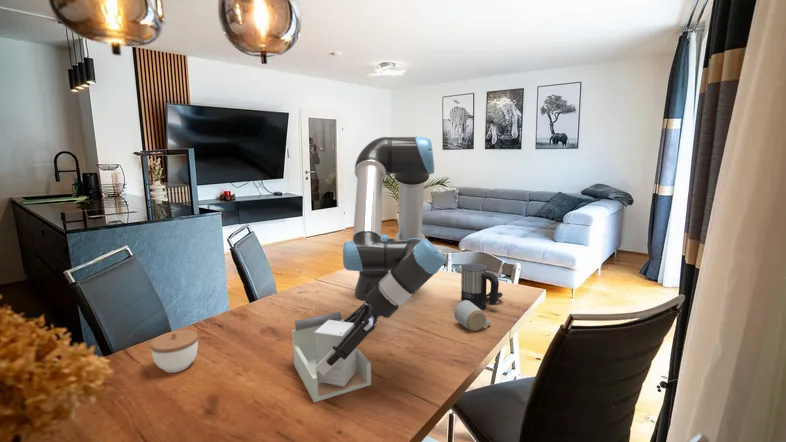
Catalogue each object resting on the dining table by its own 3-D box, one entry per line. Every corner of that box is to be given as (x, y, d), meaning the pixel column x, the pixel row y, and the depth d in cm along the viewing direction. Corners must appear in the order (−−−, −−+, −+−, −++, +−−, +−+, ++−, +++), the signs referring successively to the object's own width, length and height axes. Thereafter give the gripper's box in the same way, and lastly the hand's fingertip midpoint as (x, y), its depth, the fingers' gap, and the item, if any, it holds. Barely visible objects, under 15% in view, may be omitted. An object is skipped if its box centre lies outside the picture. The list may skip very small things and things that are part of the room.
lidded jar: (168, 382, 95) (164, 346, 93) (145, 370, 101) (141, 336, 99) (208, 362, 104) (205, 329, 102) (185, 352, 110) (182, 320, 108)
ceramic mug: (467, 334, 119) (468, 310, 118) (453, 324, 127) (454, 301, 125) (495, 329, 123) (497, 305, 122) (480, 319, 131) (481, 297, 129)
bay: (293, 363, 103) (290, 320, 101) (343, 350, 110) (341, 309, 108) (314, 402, 87) (311, 351, 85) (371, 384, 93) (370, 337, 91)
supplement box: (357, 370, 96) (356, 322, 94) (344, 387, 89) (342, 336, 87) (330, 365, 98) (328, 318, 96) (315, 381, 92) (313, 331, 89)
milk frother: (457, 308, 139) (458, 268, 136) (466, 294, 153) (467, 257, 151) (498, 314, 134) (499, 273, 131) (503, 299, 148) (505, 261, 146)
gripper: (402, 326, 80) (327, 397, 83) (398, 289, 102) (339, 347, 104) (376, 302, 79) (301, 375, 82) (378, 270, 101) (318, 329, 103)
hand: (322, 359), depth 93 cm, fingers closed on supplement box, 9 cm apart
